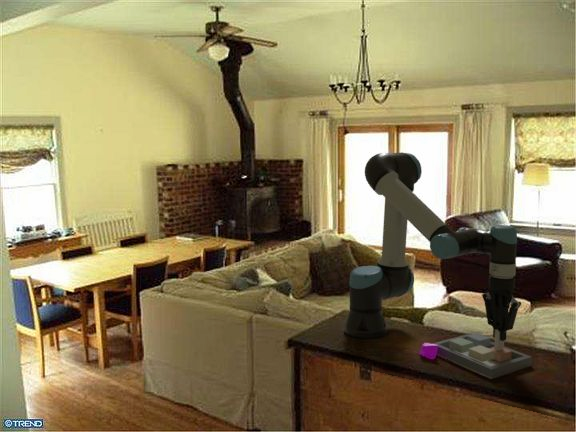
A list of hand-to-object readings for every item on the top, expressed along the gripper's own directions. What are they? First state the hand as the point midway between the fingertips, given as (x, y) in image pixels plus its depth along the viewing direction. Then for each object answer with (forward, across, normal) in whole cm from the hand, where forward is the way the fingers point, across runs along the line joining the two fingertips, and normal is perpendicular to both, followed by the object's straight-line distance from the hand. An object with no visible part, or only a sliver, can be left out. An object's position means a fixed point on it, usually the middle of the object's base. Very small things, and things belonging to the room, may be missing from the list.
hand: (499, 349), depth 170 cm
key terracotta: (+3, 0, 0) cm, 3 cm away
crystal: (+4, -14, -16) cm, 22 cm away
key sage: (+1, -8, -8) cm, 11 cm away
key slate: (+1, -8, 0) cm, 8 cm away
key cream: (+1, 0, -8) cm, 8 cm away
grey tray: (+4, -4, -4) cm, 7 cm away
